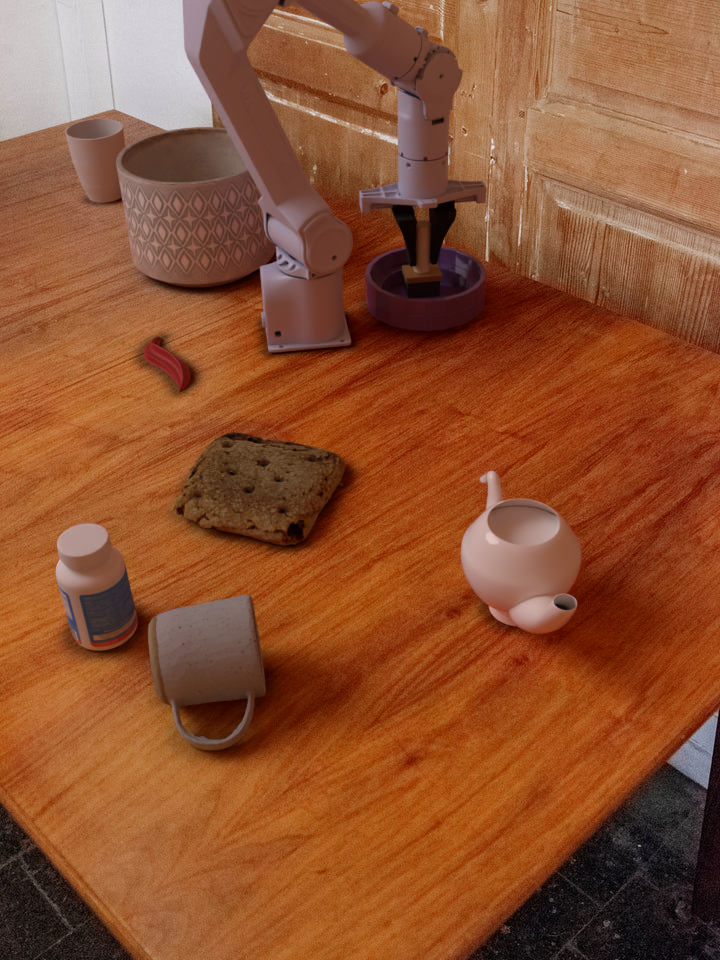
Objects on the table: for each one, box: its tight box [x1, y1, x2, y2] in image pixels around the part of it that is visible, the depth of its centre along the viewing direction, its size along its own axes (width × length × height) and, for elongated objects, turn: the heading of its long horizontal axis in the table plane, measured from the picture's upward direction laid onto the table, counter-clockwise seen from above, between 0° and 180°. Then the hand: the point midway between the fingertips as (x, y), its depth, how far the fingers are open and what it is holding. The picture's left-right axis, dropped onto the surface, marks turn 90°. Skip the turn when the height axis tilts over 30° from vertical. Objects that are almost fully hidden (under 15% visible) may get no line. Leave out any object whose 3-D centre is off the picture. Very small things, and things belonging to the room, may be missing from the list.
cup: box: [64, 118, 126, 204], centre depth 158 cm, size 8×8×10 cm
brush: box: [402, 219, 443, 298], centre depth 131 cm, size 4×3×9 cm
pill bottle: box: [55, 522, 139, 652], centre depth 87 cm, size 6×5×10 cm
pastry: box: [173, 431, 346, 547], centre depth 103 cm, size 17×17×3 cm
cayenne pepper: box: [143, 336, 191, 392], centre depth 122 cm, size 12×5×2 cm, turn 13°
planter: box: [116, 126, 276, 288], centre depth 139 cm, size 19×19×14 cm
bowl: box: [364, 245, 487, 332], centre depth 131 cm, size 14×14×4 cm
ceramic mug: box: [147, 593, 267, 751], centre depth 82 cm, size 11×8×8 cm
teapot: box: [460, 470, 583, 635], centre depth 88 cm, size 10×20×9 cm, turn 12°
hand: (422, 261), depth 131 cm, fingers closed on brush, 2 cm apart
